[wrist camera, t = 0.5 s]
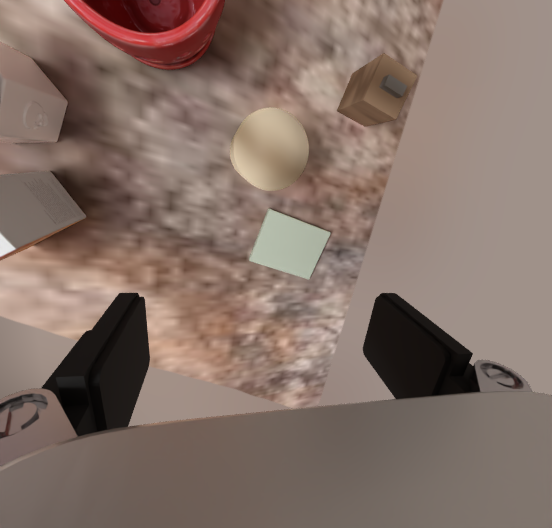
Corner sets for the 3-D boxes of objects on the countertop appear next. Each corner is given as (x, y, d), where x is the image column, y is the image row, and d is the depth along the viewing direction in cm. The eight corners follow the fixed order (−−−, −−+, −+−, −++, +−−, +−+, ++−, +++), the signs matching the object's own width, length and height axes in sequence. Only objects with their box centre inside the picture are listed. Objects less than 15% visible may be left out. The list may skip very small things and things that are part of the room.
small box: (32, 246, 33) (-72, 295, 22) (-11, 200, 31) (-157, 227, 19) (89, 217, 33) (17, 249, 22) (51, 169, 31) (-55, 175, 19)
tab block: (352, 73, 33) (389, 49, 26) (380, 91, 35) (423, 72, 27) (336, 111, 34) (368, 98, 27) (364, 126, 36) (401, 118, 28)
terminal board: (268, 208, 37) (269, 209, 37) (328, 231, 40) (330, 232, 40) (248, 258, 39) (249, 260, 39) (307, 277, 42) (308, 279, 42)
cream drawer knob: (240, 112, 32) (249, 92, 22) (291, 137, 35) (320, 129, 24) (222, 169, 34) (223, 173, 24) (271, 189, 36) (291, 201, 26)
